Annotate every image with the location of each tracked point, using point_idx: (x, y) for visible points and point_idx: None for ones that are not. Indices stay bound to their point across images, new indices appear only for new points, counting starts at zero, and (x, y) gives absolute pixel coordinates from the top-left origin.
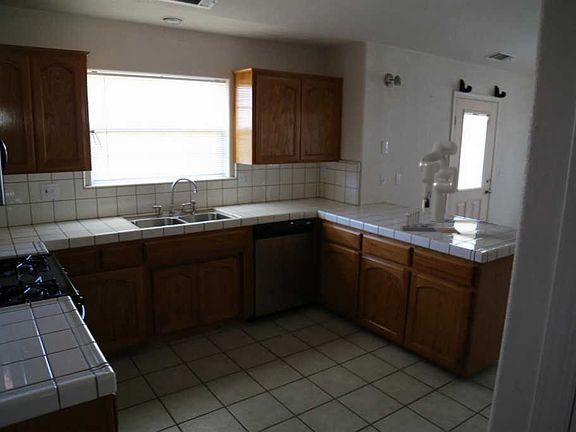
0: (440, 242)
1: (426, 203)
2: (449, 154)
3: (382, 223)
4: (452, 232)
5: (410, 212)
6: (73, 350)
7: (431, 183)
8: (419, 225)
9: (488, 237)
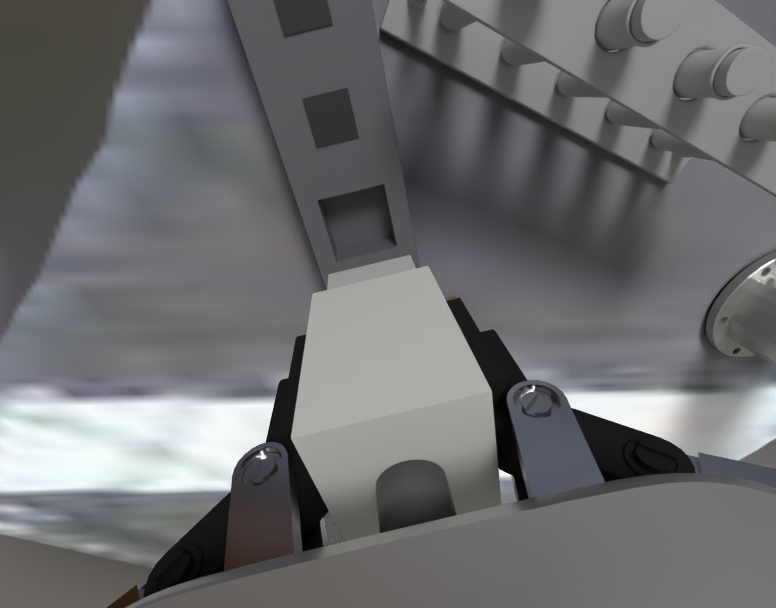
0: (10, 337)
1: (268, 433)
2: None
3: None
4: None
5: (610, 11)
6: None
7: None
8: (397, 168)
9: (330, 524)
